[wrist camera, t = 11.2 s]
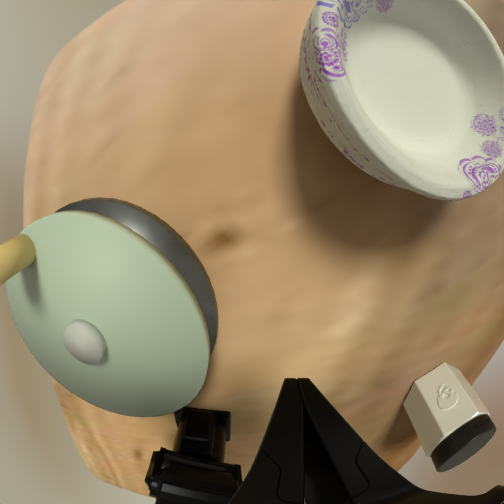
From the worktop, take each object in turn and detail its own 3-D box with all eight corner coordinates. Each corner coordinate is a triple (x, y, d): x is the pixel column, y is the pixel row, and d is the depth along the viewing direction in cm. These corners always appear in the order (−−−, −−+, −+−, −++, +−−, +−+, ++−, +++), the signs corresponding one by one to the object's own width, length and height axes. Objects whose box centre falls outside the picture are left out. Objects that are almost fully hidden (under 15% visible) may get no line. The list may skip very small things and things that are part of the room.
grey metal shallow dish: (219, 394, 26) (215, 419, 23) (62, 363, 26) (49, 381, 23) (220, 199, 20) (214, 208, 16) (21, 200, 19) (-2, 209, 16)
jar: (457, 350, 25) (505, 415, 14) (457, 383, 28) (493, 440, 16) (398, 388, 27) (433, 465, 16) (405, 415, 29) (433, 480, 18)
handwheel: (200, 203, 16) (175, 228, 11) (218, 418, 23) (213, 466, 17) (-5, 218, 16) (-48, 237, 11) (54, 386, 23) (33, 419, 17)
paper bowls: (434, 210, 20) (496, 238, 12) (265, 141, 18) (273, 133, 11) (466, 65, 15) (522, 52, 7) (317, -16, 13) (342, -71, 6)
